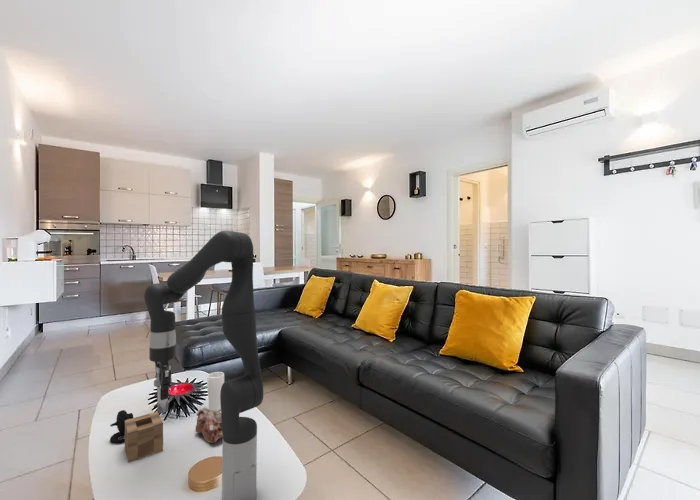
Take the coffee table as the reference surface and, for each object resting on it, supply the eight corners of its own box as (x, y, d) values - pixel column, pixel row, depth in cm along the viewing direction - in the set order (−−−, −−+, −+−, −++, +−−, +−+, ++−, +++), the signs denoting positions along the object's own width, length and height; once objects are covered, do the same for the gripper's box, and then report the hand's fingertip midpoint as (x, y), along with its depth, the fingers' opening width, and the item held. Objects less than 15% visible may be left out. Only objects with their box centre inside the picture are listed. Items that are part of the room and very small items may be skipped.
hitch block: (162, 450, 112) (163, 423, 112) (127, 462, 106) (127, 433, 106) (157, 437, 120) (157, 411, 120) (124, 447, 114) (124, 420, 113)
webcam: (137, 438, 119) (138, 410, 119) (113, 447, 114) (113, 418, 113) (131, 430, 124) (131, 403, 124) (107, 438, 119) (107, 411, 119)
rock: (202, 398, 131) (237, 394, 129) (207, 424, 131) (242, 421, 129) (177, 421, 115) (217, 418, 113) (183, 451, 116) (223, 448, 114)
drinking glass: (203, 411, 138) (203, 376, 138) (214, 404, 145) (214, 370, 145) (216, 414, 136) (217, 378, 136) (227, 406, 143) (227, 372, 143)
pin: (172, 411, 106) (173, 380, 106) (155, 416, 103) (155, 384, 103) (169, 405, 110) (169, 375, 110) (152, 410, 107) (152, 379, 107)
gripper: (180, 347, 103) (180, 400, 104) (171, 337, 115) (170, 385, 115) (153, 351, 99) (153, 408, 99) (146, 340, 110) (145, 391, 110)
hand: (162, 395), depth 107 cm, fingers closed on pin, 4 cm apart
